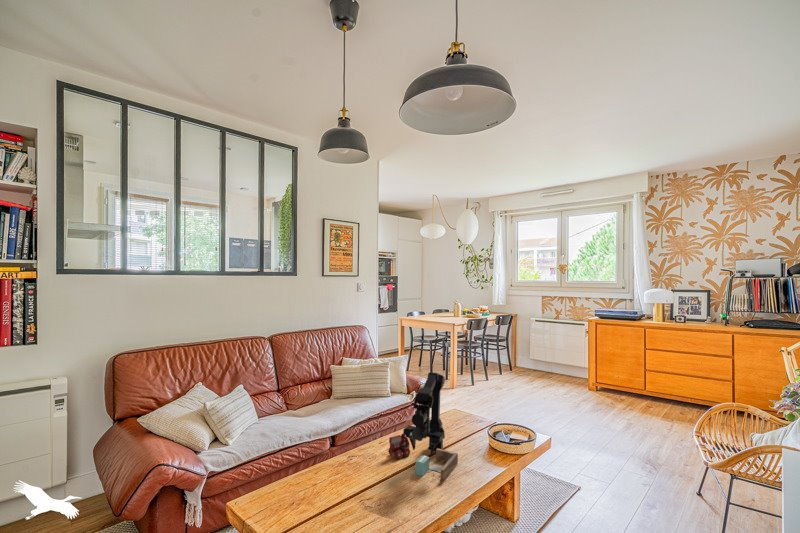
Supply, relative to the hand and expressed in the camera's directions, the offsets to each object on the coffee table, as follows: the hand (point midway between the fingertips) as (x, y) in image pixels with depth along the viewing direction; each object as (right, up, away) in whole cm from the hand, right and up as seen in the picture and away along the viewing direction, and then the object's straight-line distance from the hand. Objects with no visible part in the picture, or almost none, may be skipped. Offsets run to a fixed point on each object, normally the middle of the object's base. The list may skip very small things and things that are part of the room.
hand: (422, 451), depth 182 cm
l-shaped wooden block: (+9, -10, +2) cm, 13 cm away
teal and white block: (0, -9, 0) cm, 9 cm away
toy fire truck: (-11, -10, +16) cm, 21 cm away
